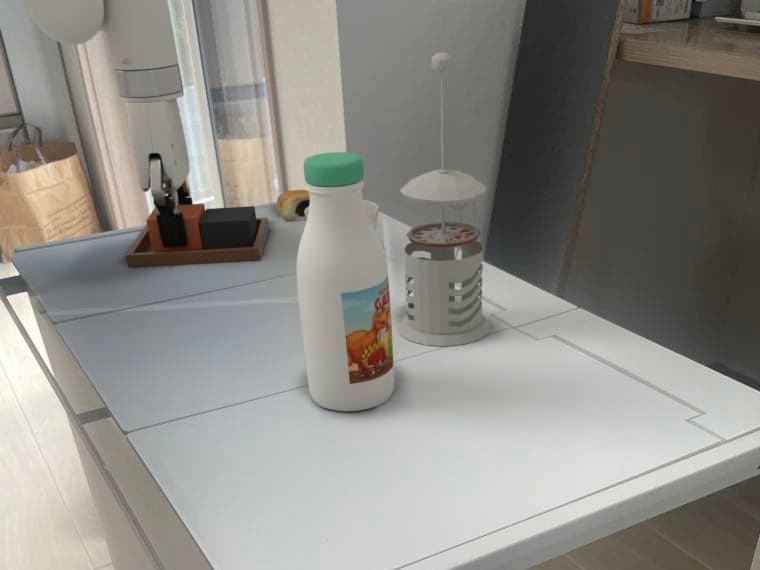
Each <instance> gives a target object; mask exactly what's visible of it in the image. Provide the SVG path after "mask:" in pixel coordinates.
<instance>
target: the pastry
mask: <svg viewBox="0 0 760 570" xmlns="http://www.w3.org/2000/svg"><path fill="white" fill-rule="evenodd" d="M309 205H310V195H309V191H307V190H306V189H295V190H294V189H293V190H288V191H285V192H282V194H280V195H278V196H277V198H276V206H275V208H276V211H277V212H278V214H279V215H280V217H281V218H282V219H283V220H284V221H285V222H294V221H295V222H296V221H302V220H303V221H304V220H306V217H305V213H304V211H305V209H306V208H307V207H309Z"/></svg>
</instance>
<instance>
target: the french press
mask: <svg viewBox="0 0 760 570" xmlns="http://www.w3.org/2000/svg"><path fill="white" fill-rule="evenodd" d="M430 66H431V67H430V68H431V69H435V70H438V69H439V70H440V71H439V73H440V74H439V75H440V77H439V79H440V80H439V81H440V147H441V148H440V149H441V150H440V153H441V156H440V158H441V162H440V163H441V168H439V169H437V170H436V169H435V170H432V171H429V172H425V173H424V174H423V173H422V174H420V175H418V176H416V177H414V178H412V179H410V180H409V181H408V182H407V183H406V184H405V185H404V186H402V187H401V189H400V190H399V191H400V192H401V194H402V196H403V198H404V200H406V201H408V202H410V203H414V204H420V205H424V206H441V221H432V222H430V221H429V222H424V223H423V224H422V223H421V224H418V225H415V226H413V227H412V228H410V229H409V230H408V232H407V233H406V236H407V238H408V240H409V242H410V243H407V244H406V245H405V247H404V251H403V253H404V271H405V297H406V298H405V303H406V304H405V305H406V315H405V317H404V318H403V319H402V320H401V322H400V323H399V325H398V326H397V330H398V334H399V335H400V336H401V337H403V338H404V339H406V340H407V341H409V342H413V343H416V344H420V345H424V346H433V347H451V346H462V345H467V344H469V343H472V342H476V341H479V340H481V339H482V338H484V337H485V336H487V335H489V333H490V331H491V329H492V324H491V322H490V321H489V319H488V318H487V317H486V316H485V315H484V314H483V302H482V299H483V289H482V287H483V282H484V281H483V280H484V278H483V277H482V275H483V269H484V265H483V264H482V262H483V260H484V247H483V245H482V244H481V242H480V241H477V240H478V238H479V236H480V234H481V231H480V229H479V228H478V226H477V225H478V223H477V222H478V220H477V218H478V217H477V214H478V213H477V209H476V204H475V201H477V200H479V199H481V198H483V196H484V194H485V192H486V190H487V187H486V186H485V185H484V183H482V182H481V181H479V180H477V179H476V178H475V177H473V176H472V175H470V174H468V173H464V172H462V171H459V170H449V169H447V168H445V165H444V164H445V157H444V154H445V153H444V152H445V150H444V148H445V147H444V69H452V68H453V58H452V56H451V55H450V54H449V53H448V52H443V51H441V52H437V53H435V54H434V55H433V56H432V57H431V61H430ZM468 203H471V204H472V209H473V214H474V215H473V217H474V221H473V224H470V223H468V222H463V213H462V210H465V209H466V208H467V207H468ZM461 204H462V205H463V206H462V205H461ZM455 205H457V206H455ZM445 206H450V207H451V208H452V209H453V210H458V214H459V215H458V217H459V221H458V222H457V221H455V222H454V221H450V220H448V221H447V220H446V221H445ZM455 248H456V249H455ZM460 249H461V258H460V259H457V258H458V255H459V252H460ZM455 250H456V251H455ZM414 252H426V253H428V254H429V253H430V258H428V257H424V256H421V257H415V256H412V254H413V253H414ZM411 281H412V283H410V282H411ZM456 284H461V288H460V289H457V288H455V287H456ZM411 293H413V295H411ZM456 297H459V298H460V297H461V300H460V302H458V301H456Z"/></svg>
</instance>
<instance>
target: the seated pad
mask: <svg viewBox="0 0 760 570" xmlns="http://www.w3.org/2000/svg"><path fill="white" fill-rule="evenodd" d="M256 218H257V215H256V207H255V206H254V205H251V206H249V205H248V206H233V207H213V208H205V213H204V215H203V216H202V218H201V220H200V222H199V225H200V230H201V236H202V242H203V247H204V250H205V249H224V248H243V247H253V245H254V242H255V239H256V236H257V232H258V228H257V220H256Z"/></svg>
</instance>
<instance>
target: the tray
mask: <svg viewBox="0 0 760 570" xmlns="http://www.w3.org/2000/svg"><path fill="white" fill-rule="evenodd" d="M256 220H257V228H258V232H257V236H256V239H255V242H254V245H253V247H243V248H224V249H205V250H204V247H203V249H198V250H180V251H163V252H153V249H152V245H151V240H150V236H149V231H148V227H147V224H146V225H145V226H144V228H143V229H142V230H141V232H140V233H139V234H138V236H137V238H136V239H135V240H134V242H133V244H132V245H131V246H130V248H129V249H128V251H127V252H126V254H125V256H124V257H125V260H126V265H127V268H128V269H132V268H151V267H154V268H155V267H170V266H171V267H173V266H187V265H189V266H191V265H206V264H207V265H208V264H209V265H210V264H227V263H244V262H260V261H261V260H262V256H263V252H264V249H265V245H266V241H267V240H268V239H267V238H268V235H269V231H270V225H269V217H256Z"/></svg>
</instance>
